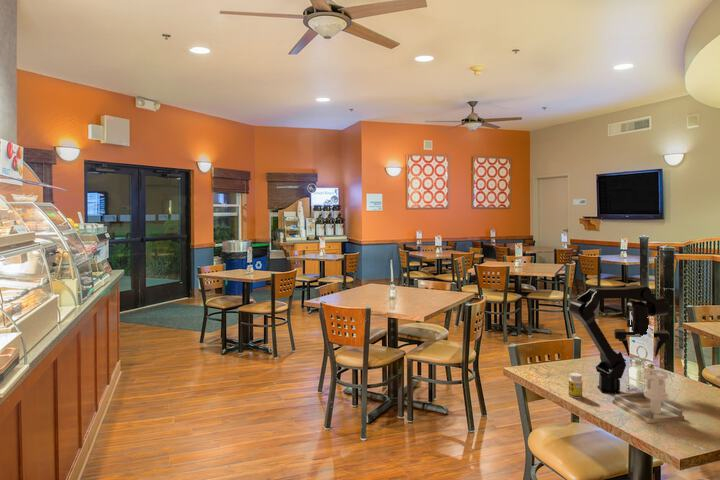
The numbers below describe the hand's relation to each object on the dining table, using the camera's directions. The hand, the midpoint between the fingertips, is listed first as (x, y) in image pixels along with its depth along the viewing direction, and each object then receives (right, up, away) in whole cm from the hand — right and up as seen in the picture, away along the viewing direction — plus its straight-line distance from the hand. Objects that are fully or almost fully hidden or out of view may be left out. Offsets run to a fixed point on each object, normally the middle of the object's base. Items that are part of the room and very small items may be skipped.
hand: (641, 356), depth 193 cm
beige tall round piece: (-9, -14, -24) cm, 29 cm away
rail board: (-10, -15, -20) cm, 27 cm away
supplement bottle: (-29, -14, -6) cm, 33 cm away
